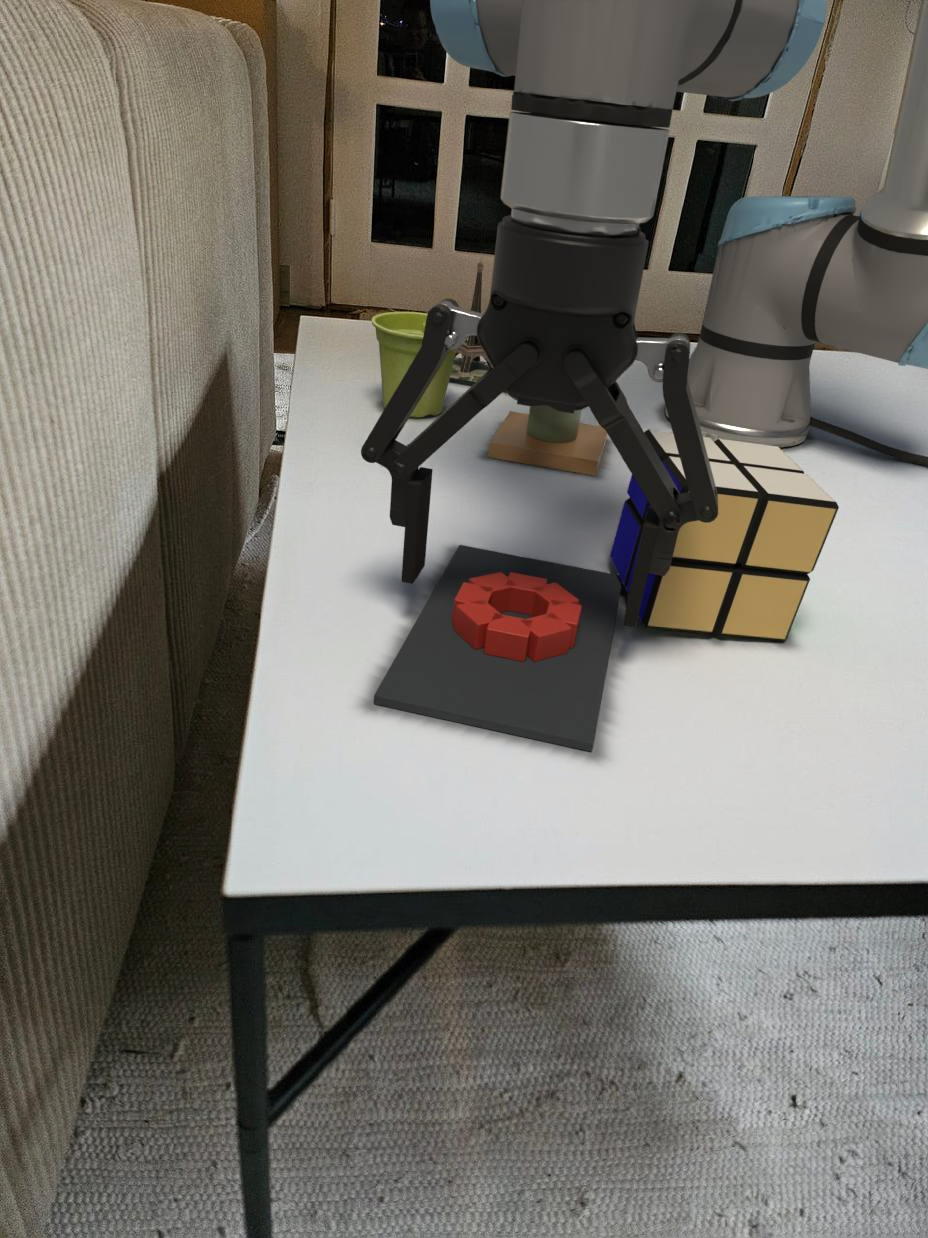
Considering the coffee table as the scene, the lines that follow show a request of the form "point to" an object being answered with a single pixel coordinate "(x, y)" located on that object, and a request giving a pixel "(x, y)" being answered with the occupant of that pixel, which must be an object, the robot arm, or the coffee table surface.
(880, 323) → the robot arm
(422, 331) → the plant pot
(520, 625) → the red ring
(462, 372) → the eiffel tower figurine
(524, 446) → the stack tower
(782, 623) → the puzzle cube
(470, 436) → the coffee table surface
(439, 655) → the slate mat
